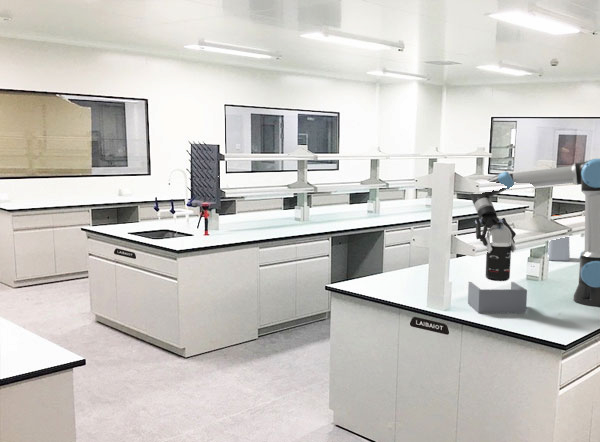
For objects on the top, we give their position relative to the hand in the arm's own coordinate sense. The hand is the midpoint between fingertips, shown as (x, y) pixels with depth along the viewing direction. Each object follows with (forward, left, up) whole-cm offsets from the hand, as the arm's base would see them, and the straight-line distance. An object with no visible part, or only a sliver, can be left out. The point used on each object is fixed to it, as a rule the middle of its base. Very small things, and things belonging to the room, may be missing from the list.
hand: (502, 250), depth 239 cm
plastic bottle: (-76, -120, -26) cm, 145 cm away
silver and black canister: (+1, -3, -13) cm, 14 cm away
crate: (+1, -3, -26) cm, 26 cm away
